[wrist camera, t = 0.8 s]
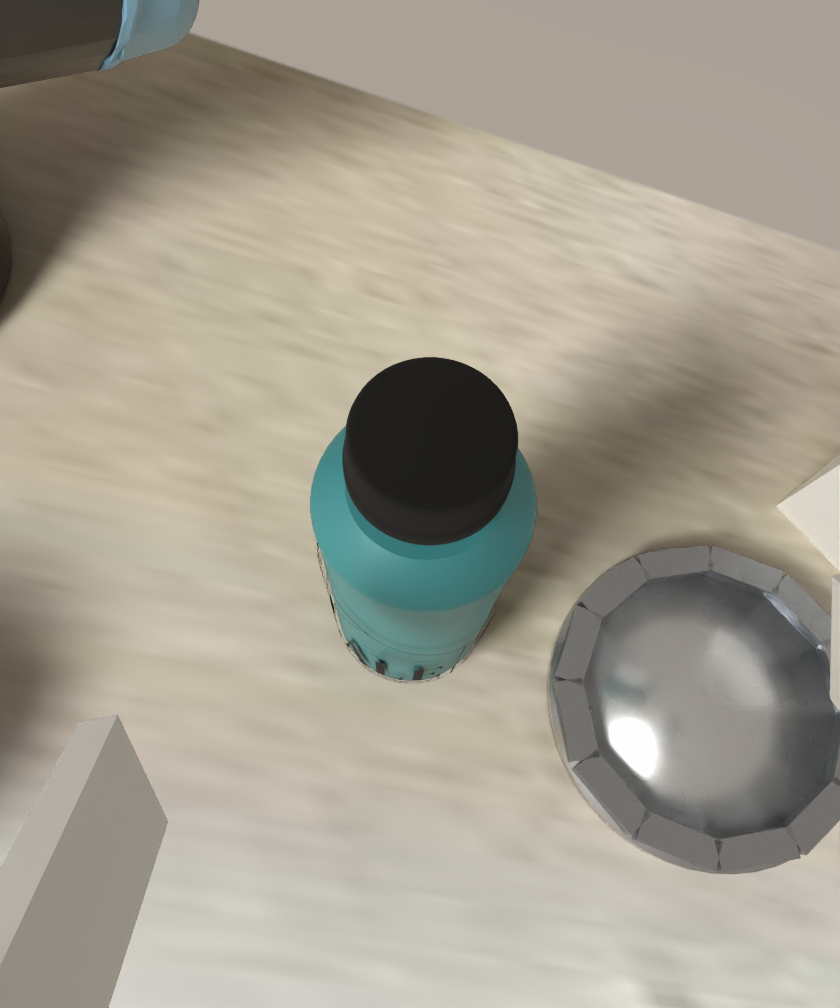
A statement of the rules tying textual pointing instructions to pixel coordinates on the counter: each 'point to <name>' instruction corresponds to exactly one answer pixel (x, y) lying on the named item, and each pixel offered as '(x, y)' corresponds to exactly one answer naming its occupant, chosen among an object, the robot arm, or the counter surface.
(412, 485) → the beverage bottle
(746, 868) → the grey round plate
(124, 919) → the robot arm
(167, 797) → the counter surface
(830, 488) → the milk
